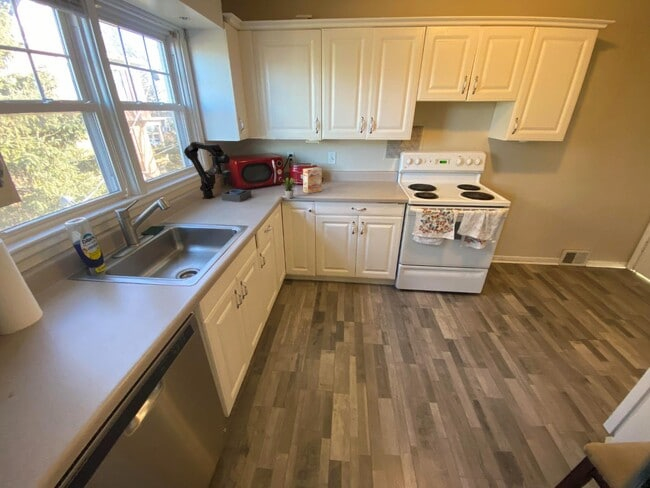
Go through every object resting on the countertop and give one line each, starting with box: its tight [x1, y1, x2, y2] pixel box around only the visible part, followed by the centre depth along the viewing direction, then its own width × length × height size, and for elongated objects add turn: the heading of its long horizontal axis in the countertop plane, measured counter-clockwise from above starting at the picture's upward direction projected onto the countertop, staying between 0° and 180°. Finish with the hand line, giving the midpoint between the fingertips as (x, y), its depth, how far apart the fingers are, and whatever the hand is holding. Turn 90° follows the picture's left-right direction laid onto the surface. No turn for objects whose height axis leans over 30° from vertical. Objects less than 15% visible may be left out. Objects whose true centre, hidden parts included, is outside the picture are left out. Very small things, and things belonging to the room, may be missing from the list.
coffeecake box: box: [302, 166, 323, 195], centre depth 235 cm, size 15×7×20 cm, turn 129°
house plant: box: [282, 177, 298, 200], centre depth 216 cm, size 14×14×16 cm
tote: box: [221, 188, 252, 203], centre depth 217 cm, size 16×16×5 cm
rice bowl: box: [229, 189, 244, 195], centre depth 216 cm, size 10×10×5 cm
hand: (219, 184), depth 208 cm, fingers open, 9 cm apart
